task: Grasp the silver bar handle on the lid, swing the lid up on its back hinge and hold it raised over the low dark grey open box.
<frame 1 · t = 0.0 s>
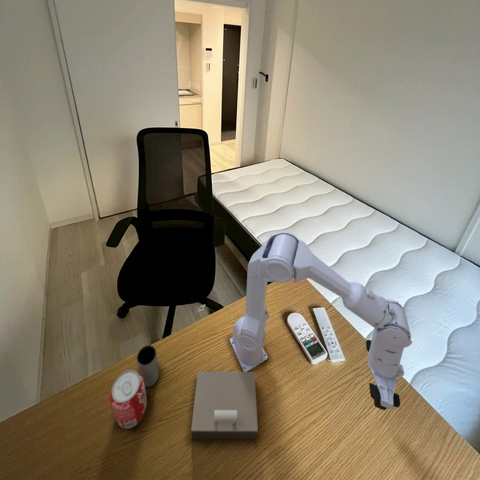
hand: (377, 386, 58), 11 cm above the table, tool pointing down, fingers open, 7 cm apart
dark grey open box: (224, 409, 60), on the table
cooker lid: (225, 395, 57), point 8 cm above the table, hinge at 0.0°
soda can: (132, 410, 59), on the table
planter: (150, 376, 65), on the table
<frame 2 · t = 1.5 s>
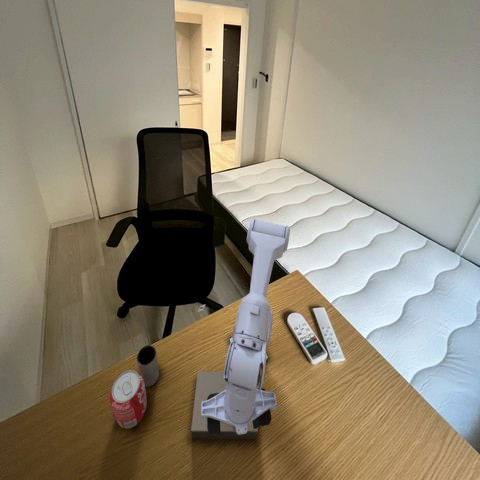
hand: (236, 424, 51), 10 cm above the table, tool pointing down, fingers open, 7 cm apart
nothing on the table moved.
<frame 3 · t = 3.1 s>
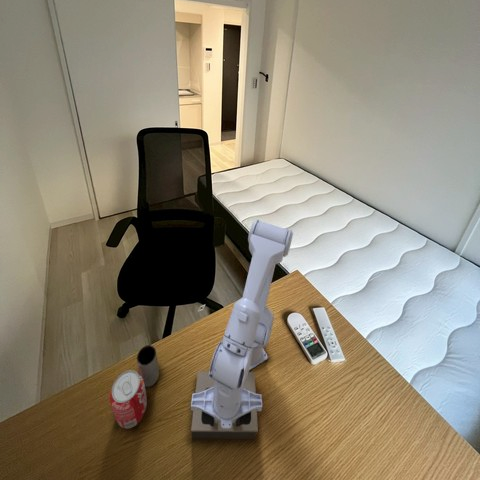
hand: (224, 420, 54), 7 cm above the table, tool pointing down, fingers closed on cooker lid, 5 cm apart
cooker lid: (225, 395, 57), point 8 cm above the table, hinge at 0.0°, touching gripper
everything else where it was.
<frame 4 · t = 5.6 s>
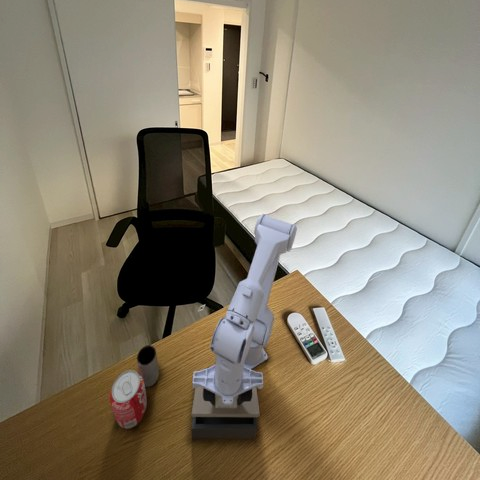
hand: (226, 399, 54), 10 cm above the table, tool pointing down, fingers closed on cooker lid, 5 cm apart
cooker lid: (226, 383, 57), point 10 cm above the table, hinge at 25.3°, touching gripper
everything else where it was.
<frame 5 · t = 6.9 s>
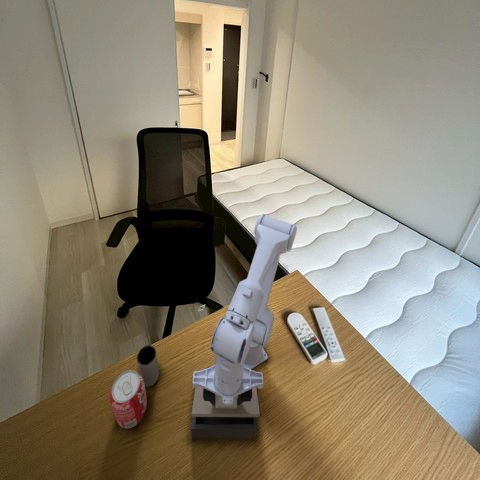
hand: (226, 399, 54), 10 cm above the table, tool pointing down, fingers closed on cooker lid, 5 cm apart
cooker lid: (226, 383, 57), point 10 cm above the table, hinge at 25.3°, touching gripper
everything else where it was.
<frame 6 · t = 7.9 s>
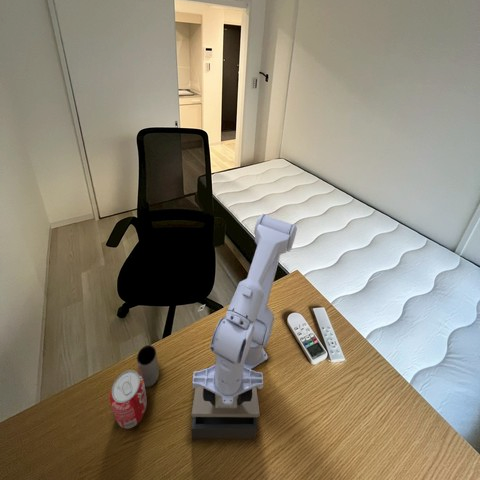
hand: (226, 399, 54), 10 cm above the table, tool pointing down, fingers closed on cooker lid, 5 cm apart
cooker lid: (226, 383, 57), point 10 cm above the table, hinge at 25.3°, touching gripper
everything else where it was.
at the end: cooker lid at +25° (first picture: +0°) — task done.
